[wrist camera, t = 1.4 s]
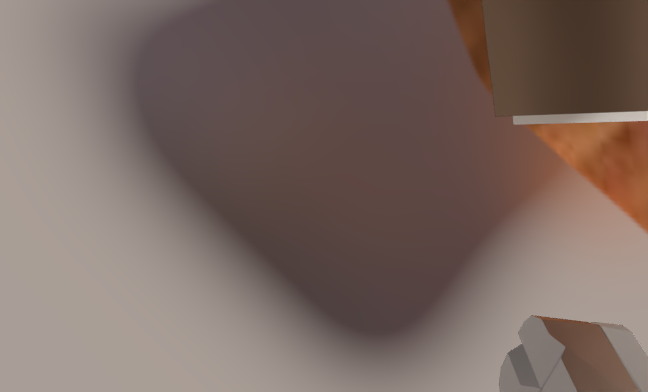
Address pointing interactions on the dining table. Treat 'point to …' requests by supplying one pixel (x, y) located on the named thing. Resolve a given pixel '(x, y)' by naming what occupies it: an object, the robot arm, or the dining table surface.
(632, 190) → the dining table surface
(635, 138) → the dining table surface
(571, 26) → the brown long block
